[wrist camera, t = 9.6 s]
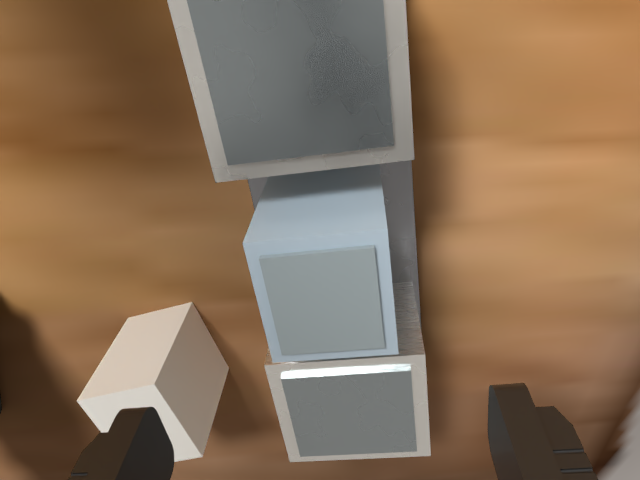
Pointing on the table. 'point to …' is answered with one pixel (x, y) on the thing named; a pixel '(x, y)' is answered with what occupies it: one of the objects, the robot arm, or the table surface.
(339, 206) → the block
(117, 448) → the robot arm
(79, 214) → the table surface
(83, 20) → the table surface
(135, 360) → the block
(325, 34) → the grey notched bar
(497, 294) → the table surface
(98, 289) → the table surface
